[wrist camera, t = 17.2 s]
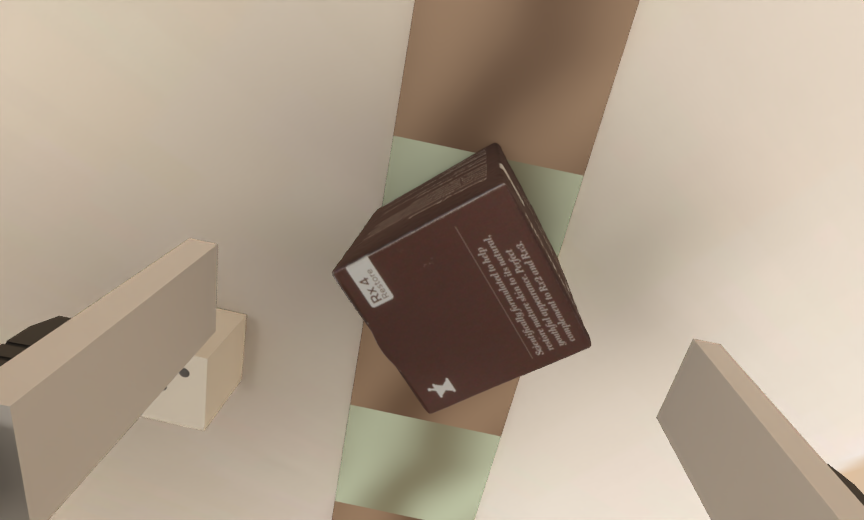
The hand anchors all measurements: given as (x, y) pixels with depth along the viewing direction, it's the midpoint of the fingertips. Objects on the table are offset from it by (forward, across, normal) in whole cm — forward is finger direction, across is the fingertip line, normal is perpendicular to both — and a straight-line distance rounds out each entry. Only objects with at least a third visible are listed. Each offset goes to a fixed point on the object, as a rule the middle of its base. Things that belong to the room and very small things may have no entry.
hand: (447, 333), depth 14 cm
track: (+9, +1, -7) cm, 11 cm away
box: (+9, +1, 0) cm, 9 cm away
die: (+9, -11, -9) cm, 17 cm away
